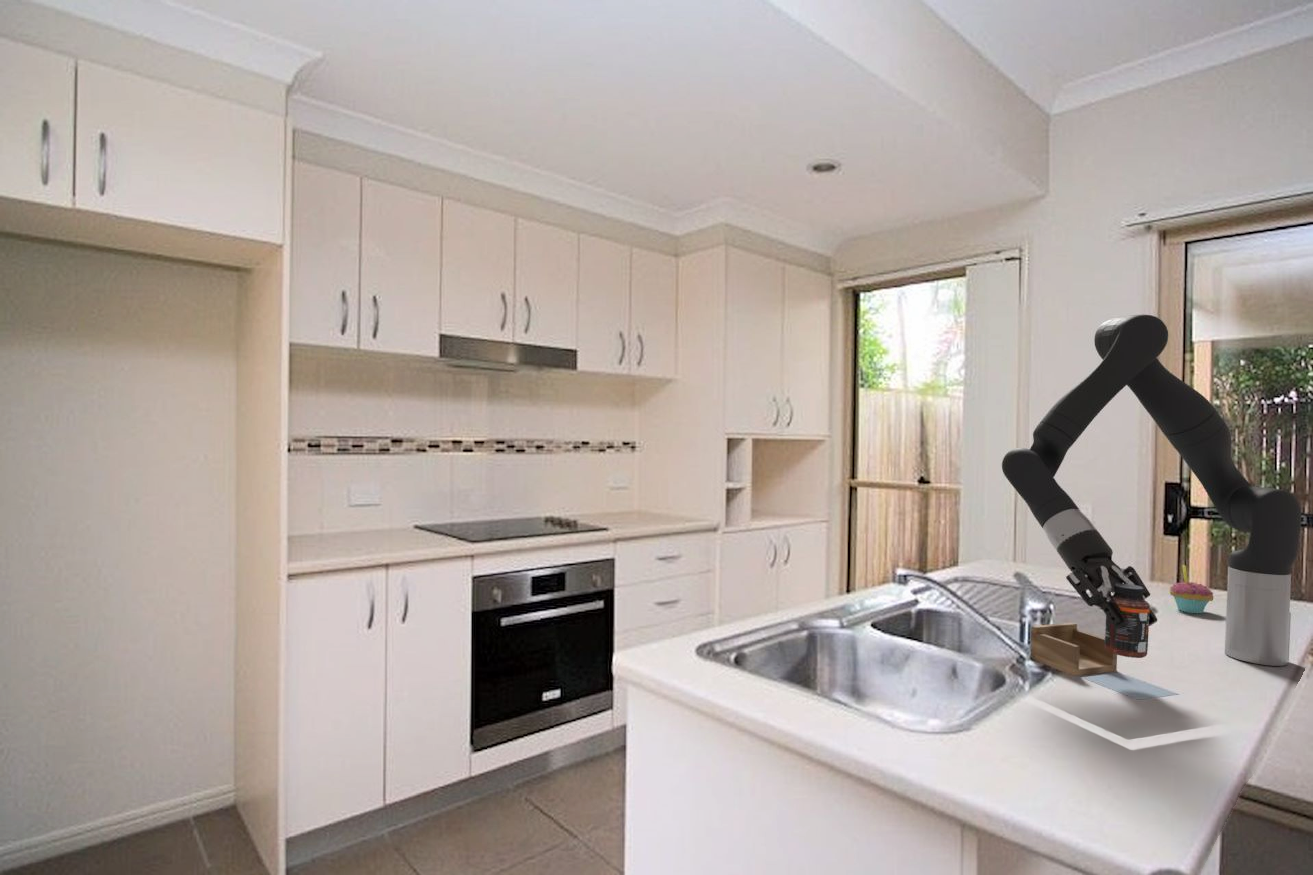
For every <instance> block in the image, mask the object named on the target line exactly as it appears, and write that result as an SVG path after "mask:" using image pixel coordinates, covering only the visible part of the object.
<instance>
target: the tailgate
mask: <svg viewBox="0 0 1313 875" xmlns="http://www.w3.org/2000/svg"><path fill="white" fill-rule="evenodd" d="M1080 678H1082V679H1084V680H1086V681H1089V682H1091V683H1095V684H1097V685H1099V686H1102V687H1105V688H1107V689H1110V690H1112V691H1115V692H1117V693H1120V694H1123V695H1124V696H1125V695H1126V696H1127V697H1130V698H1133V699H1135V700H1138V701H1142V700H1148V699H1155V698H1162V697H1171V696H1176V695H1178V693H1177V692H1175V691H1172V690H1169V689H1166V688H1163V687H1160V686H1157V685H1155V684H1152V683H1150V682H1146V681H1144V680H1141V679H1138V678H1135V677H1133V676H1130V675H1127V674H1124V673H1122V672H1112V673H1105V674H1103V673H1102V674H1097V675H1095V674H1094V675H1090V676H1088V675H1087V676H1081V677H1080Z"/></svg>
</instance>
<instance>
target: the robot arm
mask: <svg viewBox="0 0 1313 875" xmlns="http://www.w3.org/2000/svg"><path fill="white" fill-rule="evenodd" d="M1168 341H1169V329H1168V327H1167V325H1166V324H1165V322H1164V321H1163V320H1162V319H1161V318H1159V317H1157V316H1155V315H1152V314H1133V315H1127V316H1120V317H1119V316H1118V317H1115V318H1111V319H1109V320H1108V319H1107V320H1106V321H1104V322H1102V323H1101V324H1100V325H1099V326H1098V327H1097V329H1096V331H1095V334H1094V346H1095V350H1096V352H1097V354H1098V356H1099V357H1100V359H1102V360H1101V362H1100V363H1099V365H1098V366H1097V367H1096V368H1095V369H1094V370H1092V372H1091V373H1090V374H1088V375H1087V376H1086V377H1085V378H1084V379H1083V380H1082V381H1080V382H1079V383H1078V384H1076V385H1075V386H1074V387H1073V388H1071V389H1070V390H1069V391H1068V392H1067V393H1065V394H1064V395H1063V396H1062V397H1061V398H1060V399H1059V400H1058V401H1056V403H1054V405H1052V407H1051V408H1050V409H1049V411H1048V412H1047V413H1046V414H1045V416H1044V417H1043V418H1042V419H1041V421H1040V422H1039V423H1038V424H1037V425H1036V427H1035V428H1034V430H1033V433H1032V438H1033V439H1032V440H1033V443H1032V445H1031V447H1030V448H1025V447H1017V448H1013V449H1011V450H1009V451H1008V452H1007V453H1005V455H1004V456H1003V458H1002V462H1001V470H1002V472H1003V475H1004V477H1005V478H1006V479H1007V480H1008V482H1009V483H1010V484H1011V486H1012V487H1013V488H1014V489H1015V491H1016V492H1017V493H1018V495H1019V496H1020V497H1021V499H1023V501H1024V502H1025V503H1026V505H1027V507H1028V508H1029V510H1030V512H1031V513H1032V515H1033V516H1034V518H1035V520H1036V521H1037V522H1038V524H1039V526H1040V527H1041V528H1042V530H1043V531H1044V533H1045V535H1046V538H1047V539H1048V540H1049V542H1050V544H1051V545H1052V547H1054V550H1055V551H1056V552H1057V554H1058V555H1059V557H1060V558H1061V559H1062V560H1063V562H1064V564H1065V565H1066V567H1067V568H1068V570H1069V571H1070V573H1069V574H1067V575H1066V576H1065V579H1066V581H1067V582H1068V583H1069V584H1070V585H1071V586H1072V587H1073V588H1074V590H1075V591H1076V592H1077V594H1079V596H1080V597H1081V598H1082V600H1083V601H1084V602H1085V604H1087V605H1088V606H1089V607H1093V606H1096V608H1098V609H1099V610H1102V611H1103V612H1104V614H1105V616H1106V615H1107V617H1108V618H1109V619H1110V621H1111V623H1112V624H1114V626H1115V627H1116V628H1118V629H1119V628H1123V627H1124V626H1126V625H1127V624H1128V623H1129V621H1128V619H1127V618H1126V616H1125V615H1124V614H1123V612H1122V611H1121V610H1120V608H1119V607H1118V605H1117V604H1116V603H1115V602H1114V603H1112V602H1113V598H1112V595H1114V594H1115V592H1114V588H1115V584H1118V583H1119V584H1131V585H1137V586H1140V587H1143V594H1144V595H1143V598H1144V600H1145V601H1146V599H1147V598H1149V597H1150V596H1151V593H1150V591H1149V590H1148V587H1147V586H1146V585H1145V584H1144V581H1142V578H1141V577H1140V576H1139V574H1138V572H1137V571H1136V570H1135V568H1134V567H1133V566H1131V565H1130V566H1129V565H1128V566H1127V567H1126V568H1120V566H1119V565H1117V564H1116V562H1114V560H1113V558H1112V557H1113V552H1114V551H1113V549H1112V548H1111V546H1110V545H1109V543H1108V542H1107V541H1106V540H1105V538H1104V537H1103V536H1102V535H1101V533H1100V531H1099V530H1097V528H1096V527H1095V526H1094V524H1093V522H1092V521H1091V520H1090V519H1089V518H1088V517H1087V516H1086V515H1085V514H1084V513H1083V512H1082V511H1081V509H1080V507H1079V506H1078V505H1077V504H1076V503H1075V502H1074V500H1073V499H1072V498H1071V496H1070V495H1069V494H1068V493H1067V492H1066V491H1065V490H1064V489H1063V488H1062V487H1061V486H1060V484H1059V483H1058V482H1057V481H1056V479H1055V476H1056V474H1057V472H1058V470H1059V469H1060V467H1061V465H1062V463H1063V462H1064V460H1065V457H1066V454H1067V453H1068V451H1069V449H1070V448H1071V447H1073V445H1074V443H1076V441H1077V440H1078V439H1079V438H1080V437H1081V435H1082V434H1083V433H1084V432H1085V431H1086V429H1087V427H1088V426H1089V425H1090V424H1091V423H1092V422H1093V420H1094V419H1095V418H1096V417H1097V416H1098V415H1099V414H1100V412H1101V411H1102V410H1103V409H1104V408H1105V407H1106V406H1107V405H1108V404H1109V402H1110V401H1112V400H1113V399H1114V398H1115V396H1117V394H1119V393H1120V392H1121V391H1122V390H1123V389H1124V388H1125V387H1126V386H1127V387H1128V388H1129V389H1130V391H1132V393H1133V394H1134V395H1135V397H1136V398H1137V399H1138V401H1139V402H1140V404H1141V405H1142V406H1143V408H1144V409H1145V411H1146V412H1147V413H1148V415H1149V416H1150V417H1151V418H1152V419H1153V421H1154V422H1155V424H1156V425H1157V427H1158V428H1159V430H1160V431H1161V433H1163V435H1164V437H1166V439H1167V440H1168V441H1169V443H1170V444H1171V445H1172V447H1173V448H1174V449H1175V450H1176V452H1177V453H1178V454H1179V455H1180V456H1181V458H1182V459H1183V460H1184V462H1185V464H1187V466H1188V467H1189V469H1190V471H1192V473H1193V475H1195V477H1196V478H1197V479H1198V481H1199V482H1200V484H1201V486H1202V487H1203V489H1204V490H1205V492H1206V494H1207V496H1208V498H1209V499H1210V501H1211V503H1212V505H1213V506H1214V508H1215V510H1216V512H1217V513H1218V515H1219V516H1220V518H1221V519H1222V520H1223V522H1225V523H1226V524H1227V525H1228V526H1229V527H1230V528H1231V529H1233V530H1235V531H1238V532H1243V533H1246V534H1250V535H1249V540H1248V544H1247V546H1245V548H1243V549H1239V550H1235V551H1231V552H1230V553H1229V555H1228V564H1227V588H1226V589H1227V590H1226V592H1227V593H1226V609H1225V610H1226V612H1225V614H1226V615H1225V632H1224V633H1225V635H1224V654H1225V655H1227V656H1228V657H1231V658H1234V659H1236V660H1239V661H1243V662H1248V663H1252V664H1257V665H1263V666H1273V667H1279V666H1280V667H1283V666H1286V665H1288V662H1289V661H1290V644H1291V643H1290V641H1291V620H1292V617H1291V616H1292V613H1291V611H1290V607H1291V589H1292V588H1291V587H1292V586H1291V585H1292V581H1291V580H1292V569H1293V565H1294V563H1295V562H1296V559H1297V557H1298V553H1299V544H1300V536H1301V530H1302V529H1301V527H1302V510H1301V509H1302V508H1301V504H1300V502H1299V501H1298V500H1299V499H1297V498H1296V496H1295V495H1294V494H1293V493H1291V492H1289V491H1287V490H1285V489H1280V488H1273V487H1263V486H1261V487H1260V486H1254V485H1253V484H1251V483H1250V482H1249V480H1247V479H1246V478H1245V477H1244V475H1243V474H1242V473H1241V472H1240V470H1239V469H1238V468H1237V466H1236V464H1235V463H1234V461H1233V458H1232V435H1231V431H1230V428H1229V426H1228V425H1227V423H1226V422H1225V420H1224V418H1222V415H1220V413H1219V412H1218V411H1217V409H1216V408H1215V407H1214V406H1213V404H1212V403H1211V402H1210V401H1209V400H1208V398H1206V397H1205V396H1204V395H1203V394H1201V393H1200V392H1199V391H1197V390H1196V389H1195V388H1193V387H1192V386H1191V385H1189V384H1187V383H1186V382H1185V381H1183V380H1181V379H1180V378H1179V377H1177V376H1176V375H1174V374H1173V373H1172V372H1170V371H1169V370H1168V369H1167V368H1166V367H1165V366H1164V365H1163V364H1162V363H1161V361H1160V360H1159V359H1158V357H1159V356H1160V355H1161V354H1162V353H1163V351H1164V350H1165V348H1166V347H1167V344H1168ZM1087 591H1088V592H1089V593H1090V595H1089V594H1088V593H1087ZM1157 622H1158V618H1157V616H1156V614H1155V613H1154V612H1153V611H1152V609H1151V608H1150V615H1149V627H1150V626H1153V625H1154V624H1155V623H1157Z"/></svg>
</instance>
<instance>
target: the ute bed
mask: <svg viewBox="0 0 1313 875" xmlns="http://www.w3.org/2000/svg"><path fill="white" fill-rule="evenodd" d="M1030 634H1031V636H1030V658H1032V659H1033V660H1032V659H1031V660H1032V661H1036V662H1037V663H1040V664H1043V665H1045V666H1048V667H1050V668H1052V669H1055V670H1058V671H1060V672H1063V673H1066V674H1068V675H1071V676H1073V677H1075V676H1076V677H1077V676H1085V675H1095V674H1101V673H1102V674H1103V673H1108V672H1109V673H1110V672H1117V670H1118V669H1117V667H1118V661H1117V660H1118V655H1116V654H1114V653H1111V652H1109V651H1108V650H1106V648H1105V637H1102V636H1099V635H1096V634H1093V633H1089V632H1087V631H1084V630H1081V629H1078V623H1076V622H1063V623H1050V624H1041V625H1031V632H1030Z"/></svg>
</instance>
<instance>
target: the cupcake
mask: <svg viewBox="0 0 1313 875" xmlns="http://www.w3.org/2000/svg"><path fill="white" fill-rule="evenodd" d="M1181 567H1182V573H1183V580H1184V581H1183V582H1177V583H1174V584H1173V585H1172V586H1170V588H1169V595H1170V596H1172V597H1173V598H1174V600H1175V602H1176V607H1177V609H1178V610H1179V611H1180V610H1181V611H1180V612H1183V611H1184V612H1183V613H1188V614H1193V613H1197V614H1198V613H1202V614H1203V613H1204V610H1205V609H1206V607H1207V604H1208V603H1209V602H1212V601H1213V600H1214V593H1213V592H1212V590H1211V589H1209V588H1208V587H1207V586H1205V585H1204V584H1202V583H1197V582H1189V581H1188V574H1187V573H1188V572H1187V567H1186V565H1185V563H1184V561H1182V566H1181ZM1197 614H1196V615H1197ZM1198 615H1199V614H1198Z"/></svg>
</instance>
